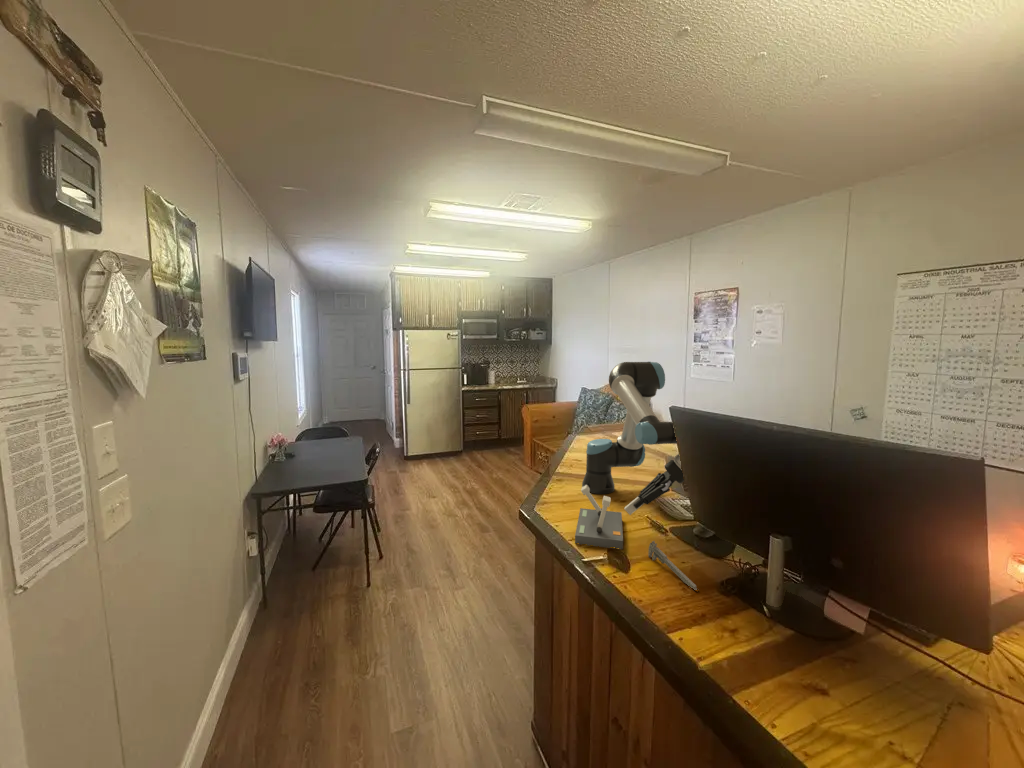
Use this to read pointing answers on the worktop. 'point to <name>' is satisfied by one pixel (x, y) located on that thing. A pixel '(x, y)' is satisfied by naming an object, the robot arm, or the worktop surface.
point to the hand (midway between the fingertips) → (627, 511)
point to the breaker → (591, 498)
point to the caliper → (668, 563)
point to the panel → (610, 529)
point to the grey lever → (603, 512)
